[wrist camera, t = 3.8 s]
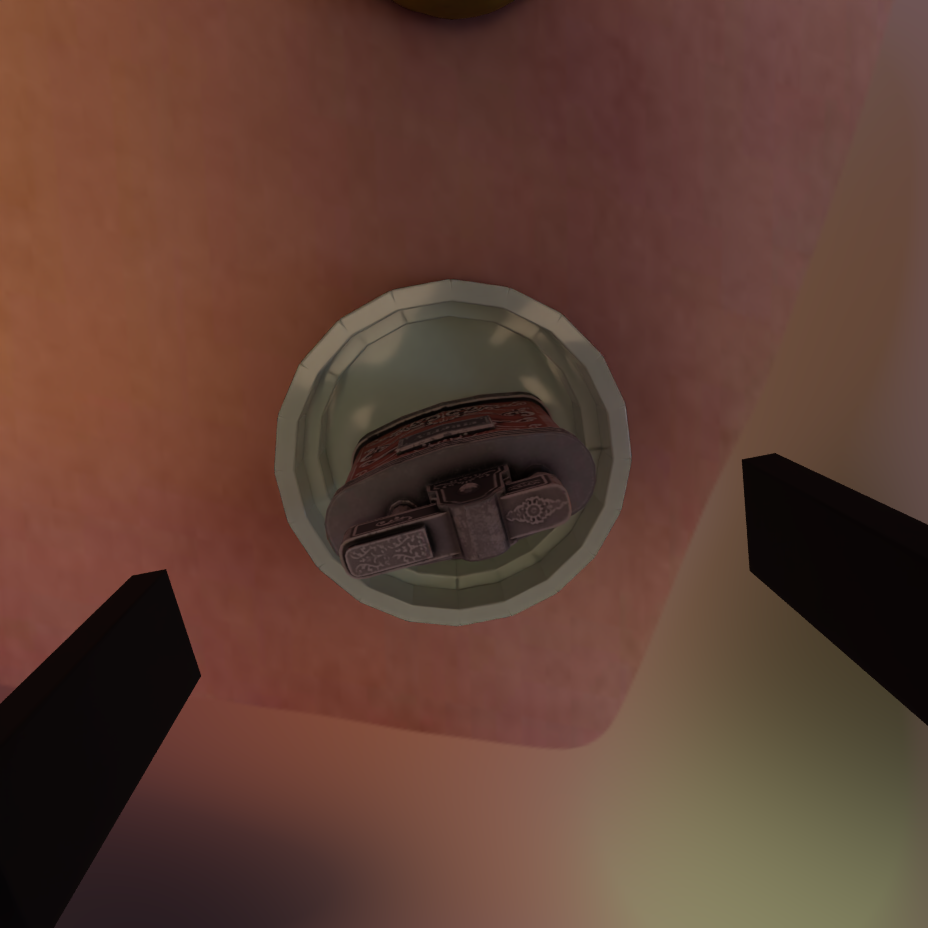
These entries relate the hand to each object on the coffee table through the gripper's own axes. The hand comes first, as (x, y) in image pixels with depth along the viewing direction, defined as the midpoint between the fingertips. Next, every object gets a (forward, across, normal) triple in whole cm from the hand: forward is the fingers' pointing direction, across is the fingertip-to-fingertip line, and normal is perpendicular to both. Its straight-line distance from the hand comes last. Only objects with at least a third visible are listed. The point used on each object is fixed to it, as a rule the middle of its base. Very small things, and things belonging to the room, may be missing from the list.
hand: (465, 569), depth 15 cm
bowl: (+12, 0, 0) cm, 12 cm away
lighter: (+12, 0, 0) cm, 12 cm away
